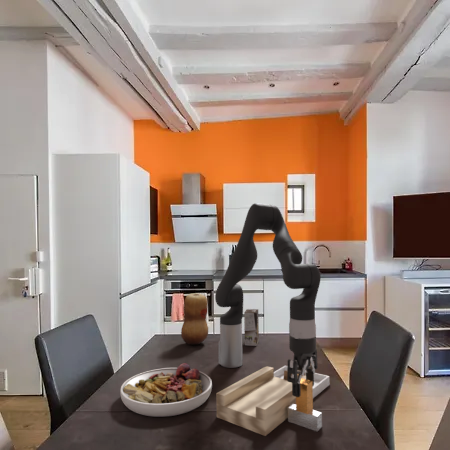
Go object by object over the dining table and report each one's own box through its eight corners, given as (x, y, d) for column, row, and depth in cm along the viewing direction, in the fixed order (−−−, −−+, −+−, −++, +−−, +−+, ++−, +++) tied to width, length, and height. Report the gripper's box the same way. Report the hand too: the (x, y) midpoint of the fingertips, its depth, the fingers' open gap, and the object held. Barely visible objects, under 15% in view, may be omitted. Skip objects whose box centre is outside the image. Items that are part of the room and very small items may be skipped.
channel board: (216, 417, 108) (216, 393, 108) (266, 385, 130) (266, 366, 130) (265, 436, 97) (264, 409, 97) (310, 398, 119) (310, 377, 119)
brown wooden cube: (283, 382, 126) (284, 370, 127) (288, 382, 129) (289, 370, 130) (293, 385, 123) (294, 373, 124) (298, 384, 126) (299, 372, 127)
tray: (265, 385, 130) (265, 376, 130) (285, 373, 141) (284, 365, 141) (312, 398, 119) (312, 389, 119) (329, 384, 130) (329, 376, 130)
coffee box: (257, 346, 177) (256, 312, 177) (244, 345, 178) (243, 312, 178) (259, 340, 186) (258, 309, 186) (246, 340, 187) (246, 308, 187)
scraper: (287, 421, 104) (287, 379, 105) (293, 417, 107) (292, 376, 108) (317, 432, 99) (316, 387, 99) (322, 426, 102) (321, 383, 102)
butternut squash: (197, 349, 172) (196, 296, 173) (175, 345, 179) (175, 294, 180) (214, 342, 183) (213, 292, 184) (193, 338, 191) (192, 291, 192)
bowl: (187, 429, 102) (187, 400, 102) (100, 412, 112) (100, 386, 112) (224, 387, 130) (224, 364, 130) (152, 376, 140) (152, 356, 140)
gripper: (301, 326, 112) (302, 379, 111) (278, 337, 101) (279, 396, 100) (325, 330, 107) (326, 385, 107) (303, 341, 96) (304, 403, 96)
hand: (303, 390), depth 103 cm, fingers open, 8 cm apart
